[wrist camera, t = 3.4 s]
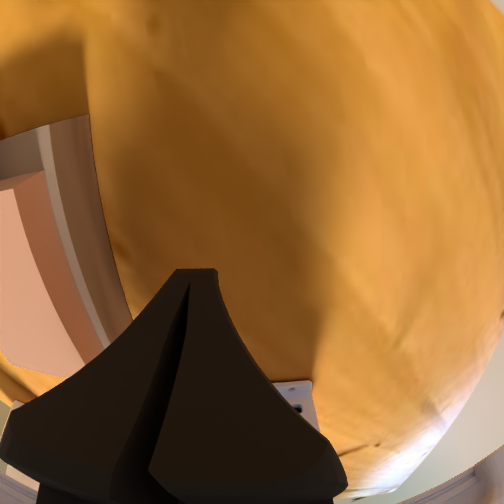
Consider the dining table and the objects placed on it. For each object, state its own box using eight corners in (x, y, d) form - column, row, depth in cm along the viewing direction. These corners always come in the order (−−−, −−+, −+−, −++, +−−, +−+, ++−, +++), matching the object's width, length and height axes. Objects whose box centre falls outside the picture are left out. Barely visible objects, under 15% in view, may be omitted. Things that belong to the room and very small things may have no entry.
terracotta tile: (44, 169, 7) (13, 188, 6) (107, 354, 12) (97, 383, 10) (-41, 192, 7) (-66, 210, 6) (23, 341, 12) (11, 364, 10)
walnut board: (88, 113, 9) (48, 124, 7) (136, 332, 15) (125, 373, 13) (-13, 145, 9) (-52, 164, 6) (46, 324, 15) (29, 357, 12)
